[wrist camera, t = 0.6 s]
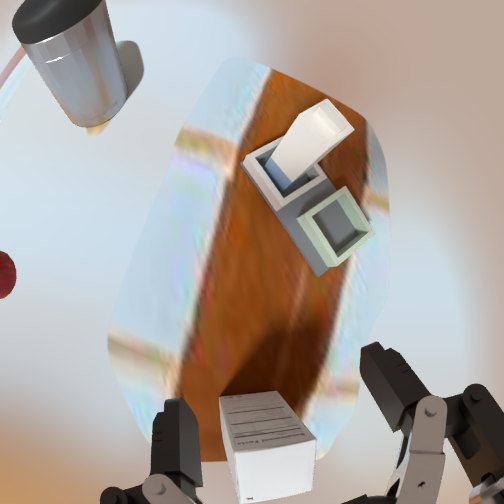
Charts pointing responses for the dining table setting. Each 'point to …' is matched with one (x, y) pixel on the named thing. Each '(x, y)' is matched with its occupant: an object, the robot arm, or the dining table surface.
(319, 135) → the milk carton
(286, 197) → the double bin tray
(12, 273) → the onion
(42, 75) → the robot arm
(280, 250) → the dining table surface
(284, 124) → the dining table surface
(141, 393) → the dining table surface
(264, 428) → the supplement box
